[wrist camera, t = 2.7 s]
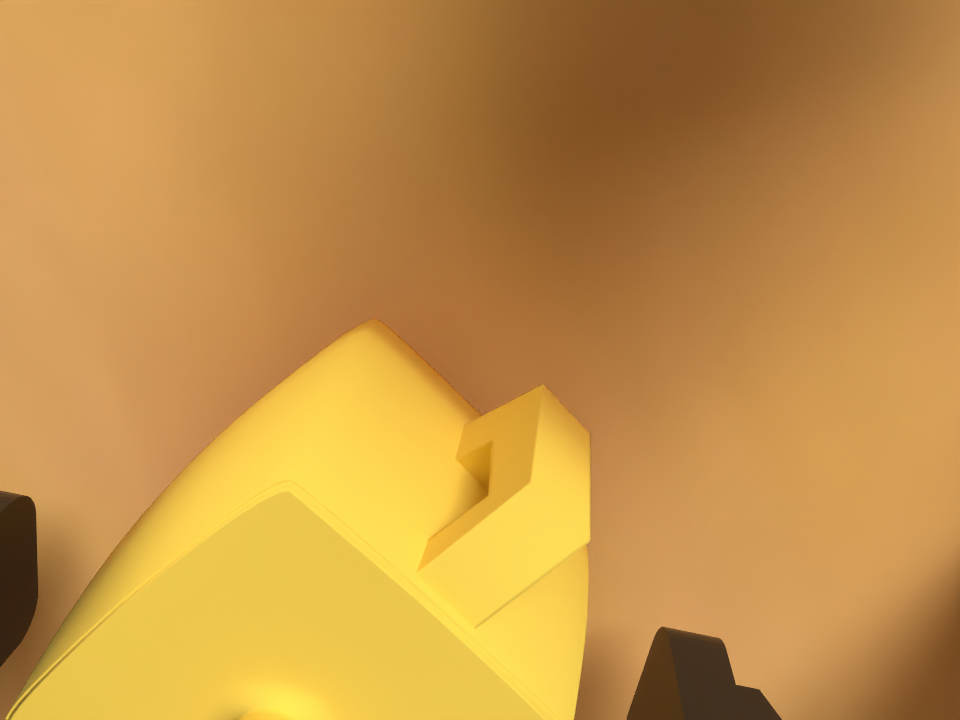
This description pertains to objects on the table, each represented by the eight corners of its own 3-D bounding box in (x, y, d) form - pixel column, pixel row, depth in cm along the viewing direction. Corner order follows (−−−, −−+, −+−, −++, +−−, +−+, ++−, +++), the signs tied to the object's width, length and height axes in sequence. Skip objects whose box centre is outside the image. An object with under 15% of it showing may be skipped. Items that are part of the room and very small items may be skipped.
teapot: (347, 765, 15) (244, 1133, 10) (82, 549, 13) (-184, 854, 9) (728, 510, 12) (839, 841, 7) (446, 210, 11) (355, 374, 6)
